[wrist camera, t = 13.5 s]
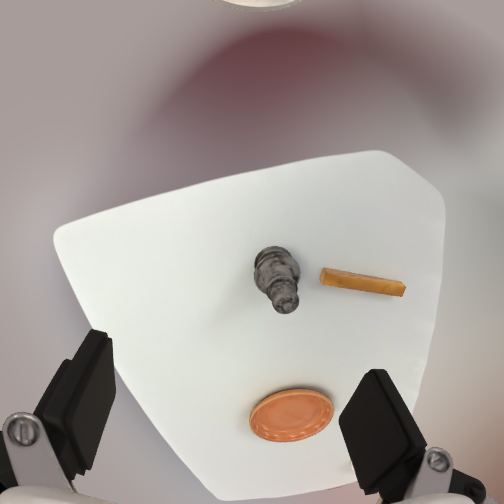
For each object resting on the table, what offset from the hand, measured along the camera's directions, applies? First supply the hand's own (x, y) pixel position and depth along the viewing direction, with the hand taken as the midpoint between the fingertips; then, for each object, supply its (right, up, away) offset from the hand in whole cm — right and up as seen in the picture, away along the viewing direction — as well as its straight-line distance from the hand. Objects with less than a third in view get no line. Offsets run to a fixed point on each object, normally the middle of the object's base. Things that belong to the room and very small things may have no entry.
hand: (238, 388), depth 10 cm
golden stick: (+17, 0, +33) cm, 38 cm away
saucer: (+8, -26, +43) cm, 50 cm away
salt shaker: (+3, +3, +32) cm, 32 cm away
